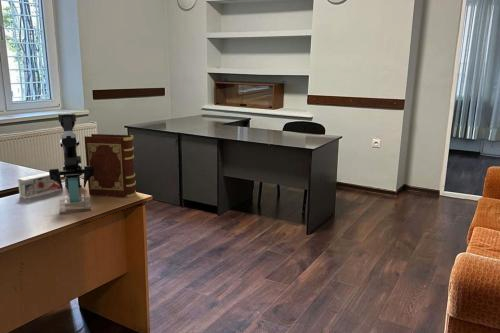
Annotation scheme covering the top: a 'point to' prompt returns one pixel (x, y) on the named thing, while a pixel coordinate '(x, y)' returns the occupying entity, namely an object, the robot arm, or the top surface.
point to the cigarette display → (37, 185)
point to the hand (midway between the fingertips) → (73, 188)
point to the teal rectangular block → (73, 190)
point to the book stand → (74, 205)
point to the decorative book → (111, 165)
